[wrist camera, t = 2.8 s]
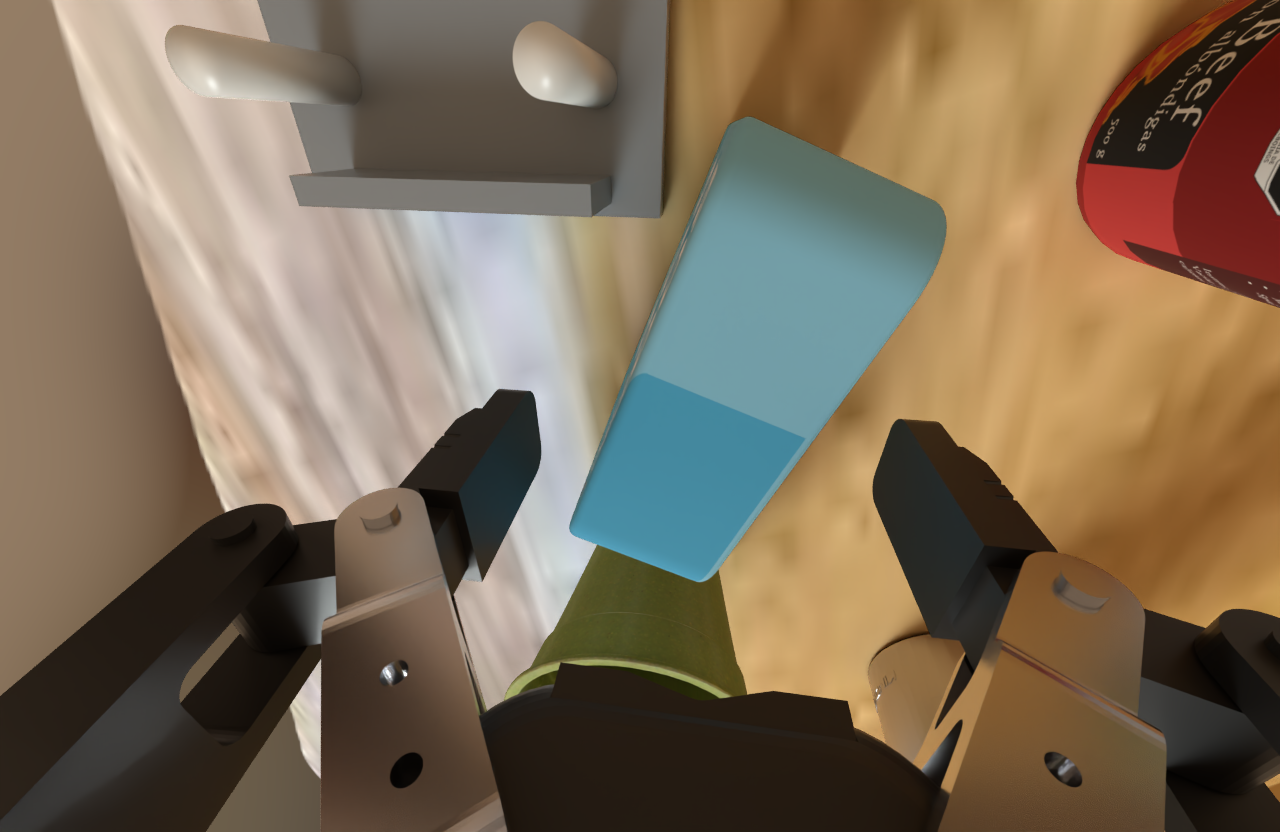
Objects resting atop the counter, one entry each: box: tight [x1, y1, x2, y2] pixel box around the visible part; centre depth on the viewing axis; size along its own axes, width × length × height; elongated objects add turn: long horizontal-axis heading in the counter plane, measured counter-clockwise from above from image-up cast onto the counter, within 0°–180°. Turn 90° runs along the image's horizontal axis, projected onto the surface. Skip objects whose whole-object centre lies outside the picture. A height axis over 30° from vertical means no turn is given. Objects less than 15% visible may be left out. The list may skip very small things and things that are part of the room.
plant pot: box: [504, 545, 747, 701], centre depth 26 cm, size 12×12×11 cm
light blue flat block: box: [569, 117, 947, 582], centre depth 16 cm, size 12×4×12 cm, turn 159°
